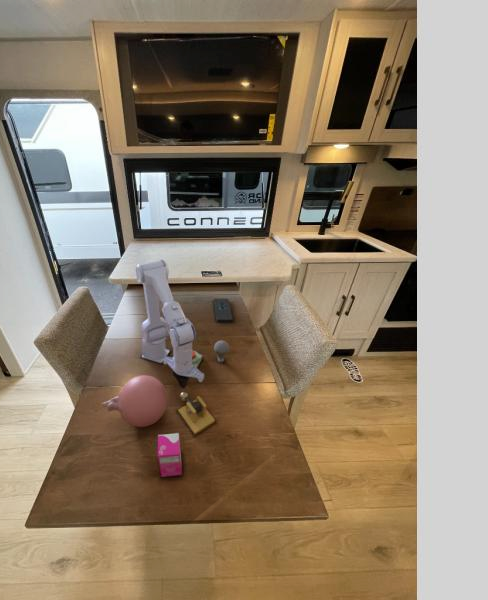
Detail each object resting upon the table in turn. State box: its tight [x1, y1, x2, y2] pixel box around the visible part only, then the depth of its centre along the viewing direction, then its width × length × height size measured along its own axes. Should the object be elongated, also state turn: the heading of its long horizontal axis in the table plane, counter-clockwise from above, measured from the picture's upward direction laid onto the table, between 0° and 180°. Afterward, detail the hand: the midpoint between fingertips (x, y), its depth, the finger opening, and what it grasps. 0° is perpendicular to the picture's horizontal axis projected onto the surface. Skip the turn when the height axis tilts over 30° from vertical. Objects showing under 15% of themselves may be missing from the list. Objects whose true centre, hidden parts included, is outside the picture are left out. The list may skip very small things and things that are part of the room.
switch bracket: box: [177, 395, 216, 436], centre depth 86 cm, size 10×8×7 cm
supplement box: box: [157, 432, 183, 478], centre depth 72 cm, size 6×6×12 cm
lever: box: [179, 391, 202, 414], centre depth 89 cm, size 11×3×3 cm, turn 34°
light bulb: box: [213, 340, 230, 363], centre depth 107 cm, size 6×6×10 cm
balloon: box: [101, 374, 168, 428], centre depth 84 cm, size 15×20×15 cm
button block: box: [171, 349, 203, 369], centre depth 108 cm, size 11×8×4 cm
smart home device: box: [213, 298, 234, 323], centre depth 140 cm, size 8×2×20 cm
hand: (183, 385), depth 89 cm, fingers closed
